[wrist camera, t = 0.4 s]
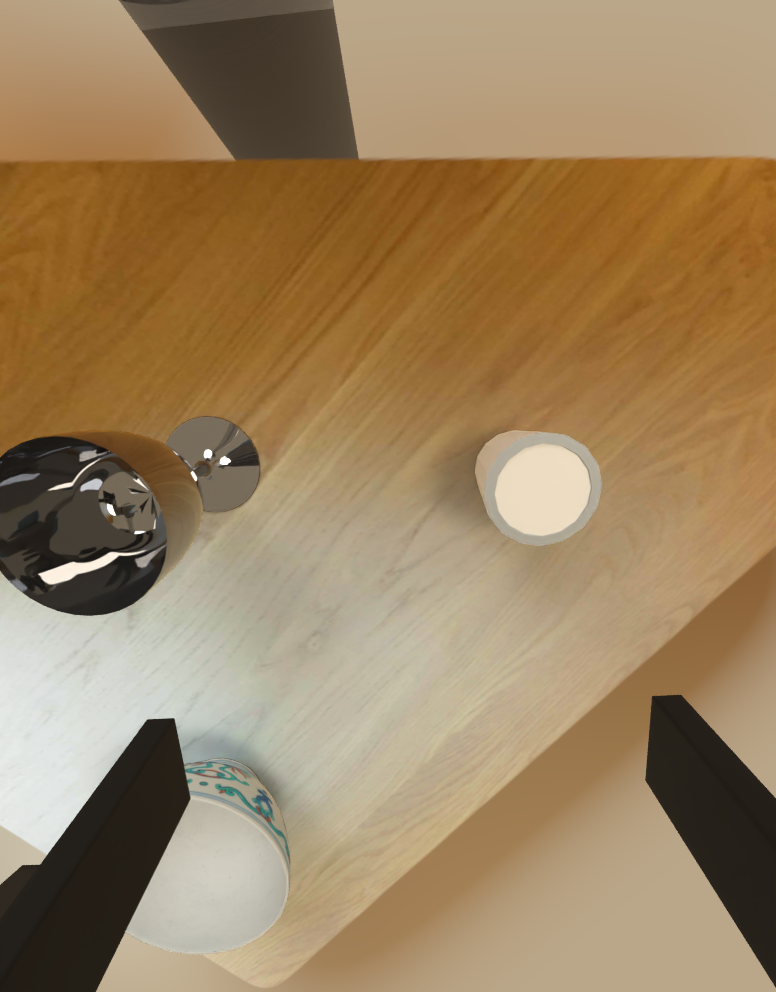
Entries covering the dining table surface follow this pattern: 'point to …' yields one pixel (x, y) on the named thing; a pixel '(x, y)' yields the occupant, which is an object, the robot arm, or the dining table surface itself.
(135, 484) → the wine glass
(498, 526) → the shot glass
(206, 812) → the chinaware
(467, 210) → the dining table surface
